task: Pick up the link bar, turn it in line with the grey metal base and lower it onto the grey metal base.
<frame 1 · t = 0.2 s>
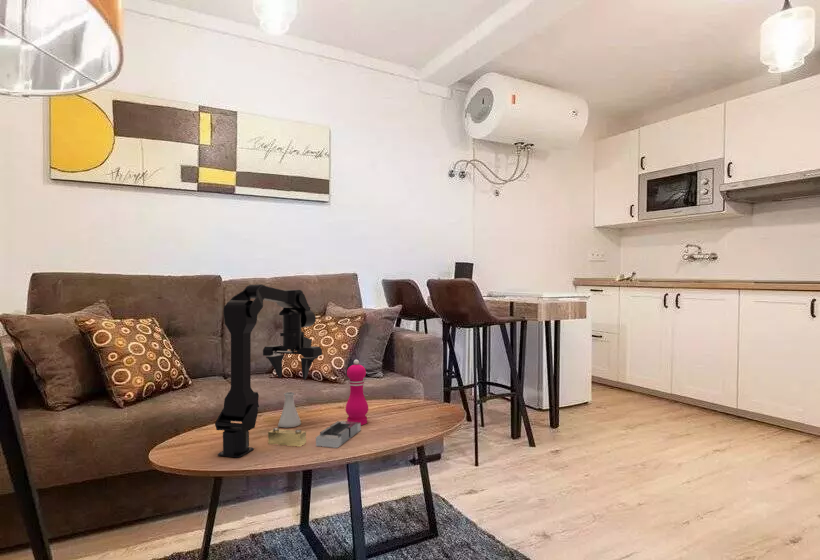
hand: (292, 378, 149), 14 cm above the table, tool pointing down, fingers open, 9 cm apart
grey metal base: (339, 437, 134), on the table
link bar: (287, 444, 129), on the table
pepper mill: (357, 423, 148), on the table
flask: (289, 425, 147), on the table
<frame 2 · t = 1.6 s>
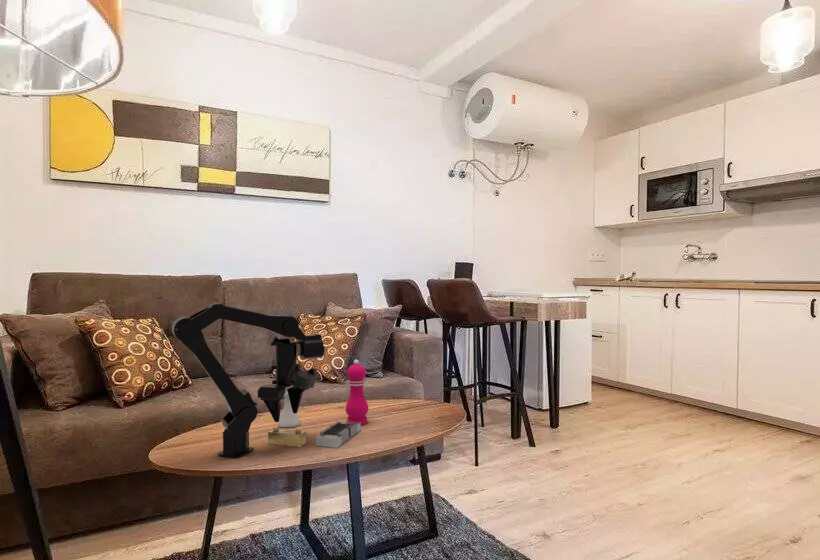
hand: (286, 417, 129), 7 cm above the table, tool pointing down, fingers open, 9 cm apart
nothing on the table moved.
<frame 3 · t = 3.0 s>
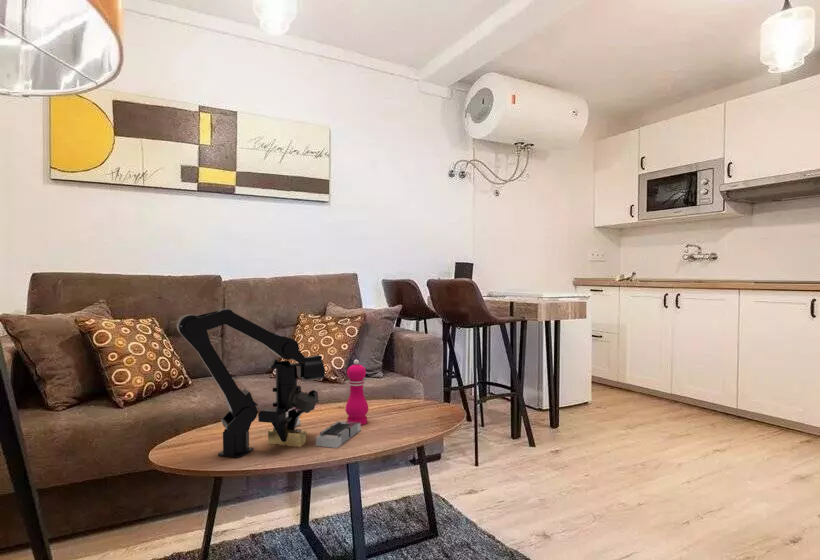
hand: (287, 439, 129), 1 cm above the table, tool pointing down, fingers closed on link bar, 3 cm apart
link bar: (287, 443, 129), on the table, touching gripper
everything else where it was.
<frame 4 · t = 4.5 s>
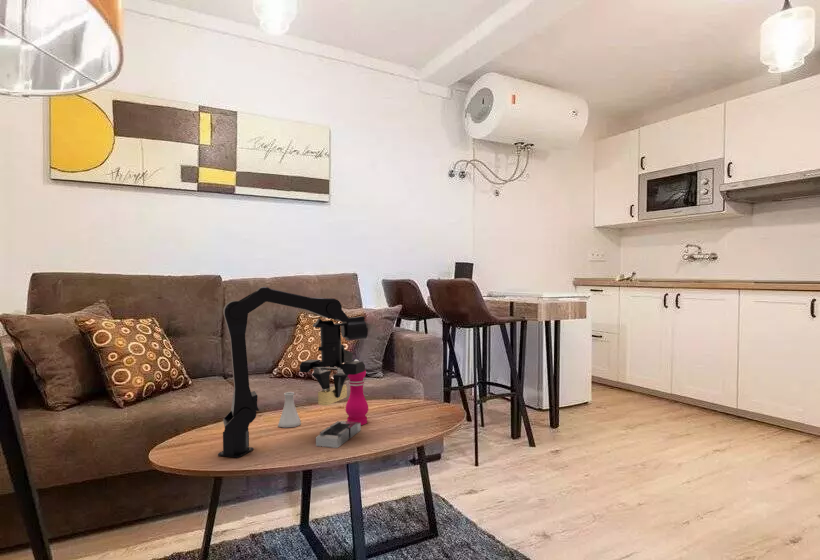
hand: (333, 397, 133), 12 cm above the table, tool pointing down, fingers closed on link bar, 3 cm apart
link bar: (333, 400, 133), point 11 cm above the table, touching gripper
everything else where it was.
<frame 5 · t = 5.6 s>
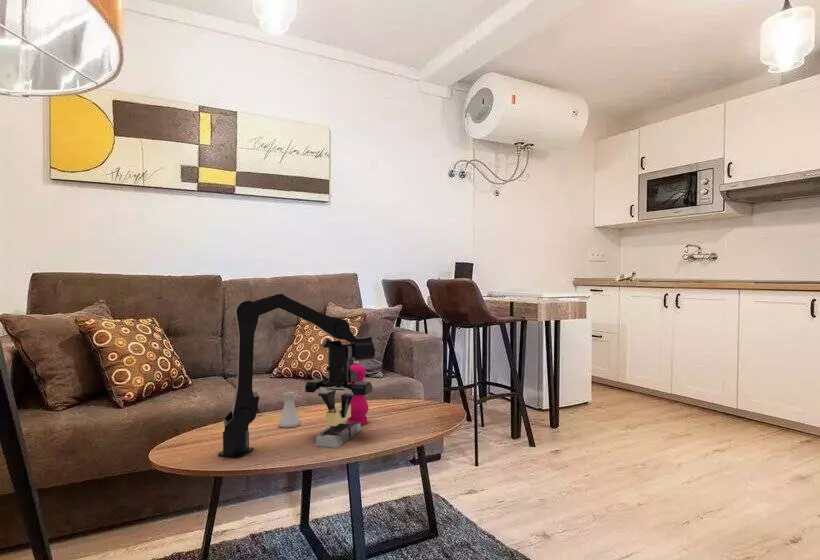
hand: (338, 417, 134), 6 cm above the table, tool pointing down, fingers closed on link bar, 3 cm apart
link bar: (338, 420, 134), point 5 cm above the table, touching gripper
everything else where it was.
when the fingers open (3 cm above the table, at t = 6.3 s): link bar drops 1 cm, resting on grey metal base.
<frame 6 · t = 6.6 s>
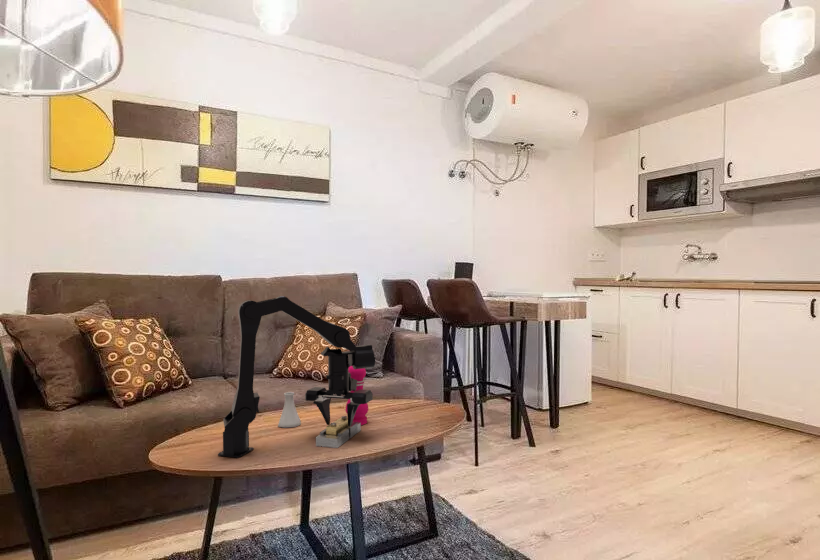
hand: (339, 425, 134), 3 cm above the table, tool pointing down, fingers open, 6 cm apart
link bar: (339, 434, 134), point 1 cm above the table, touching grey metal base
everything else where it was.
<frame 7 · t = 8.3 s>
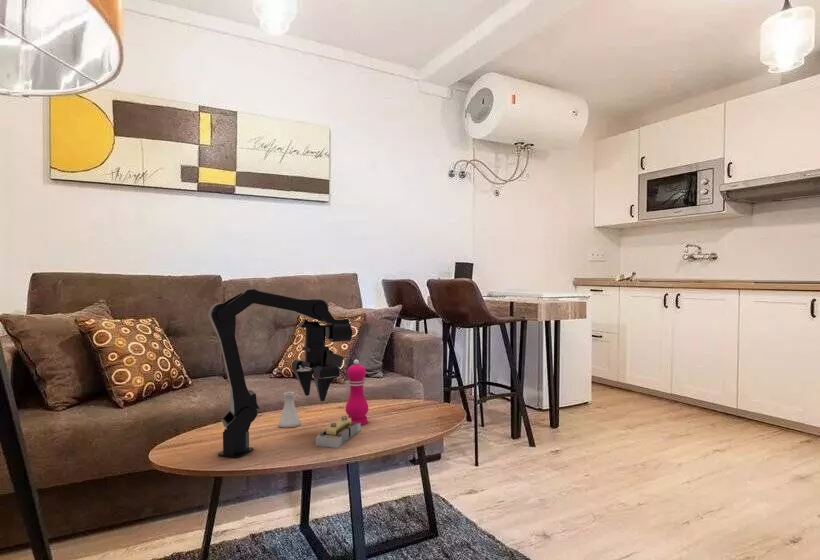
hand: (314, 398, 133), 11 cm above the table, tool pointing down, fingers open, 9 cm apart
nothing on the table moved.
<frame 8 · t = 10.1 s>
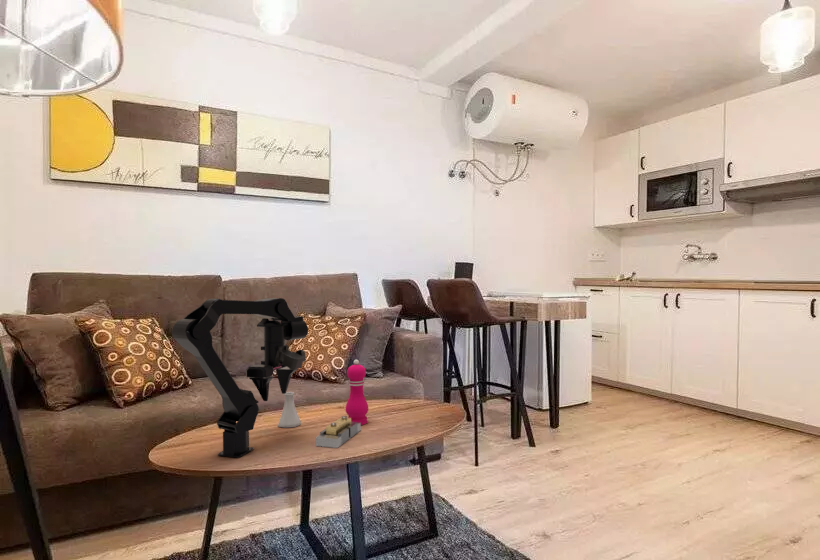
hand: (275, 397, 133), 12 cm above the table, tool pointing down, fingers open, 9 cm apart
nothing on the table moved.
at the end: link bar 0.0 cm off-centre on the grey metal base, point 1.0 cm above the grey metal base's base; the gripper is holding nothing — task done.
